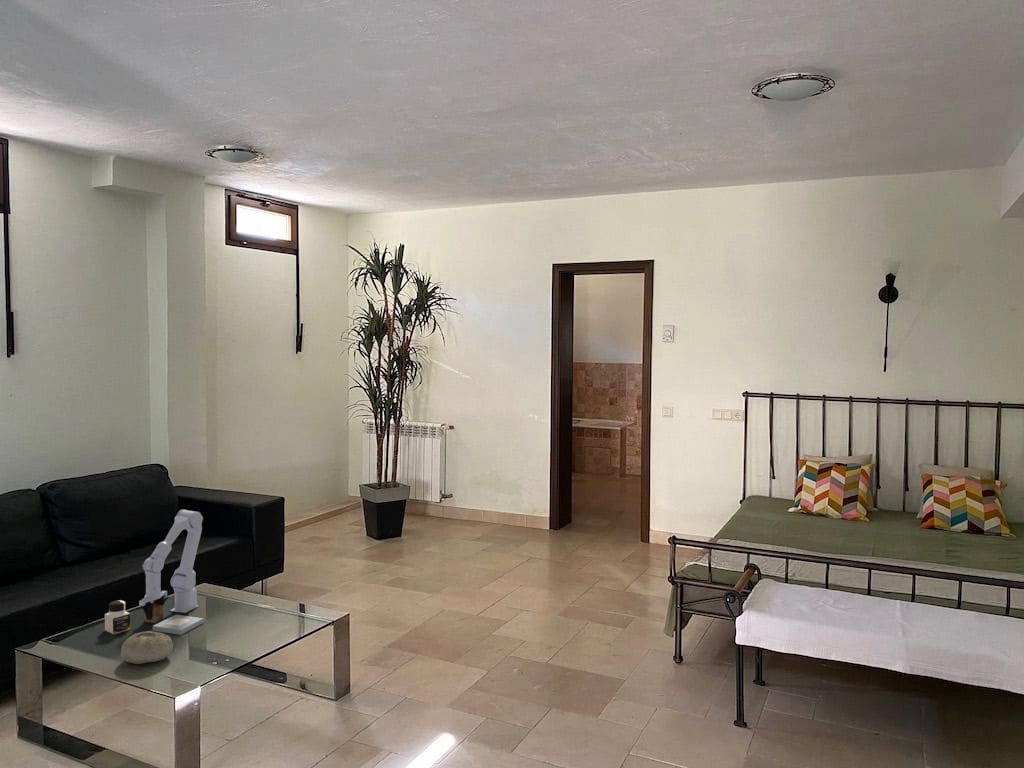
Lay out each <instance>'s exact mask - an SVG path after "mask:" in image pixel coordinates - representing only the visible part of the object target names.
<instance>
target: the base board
mask: <svg viewBox="0 0 1024 768" xmlns="http://www.w3.org/2000/svg"><path fill="white" fill-rule="evenodd" d="M204 623H205V622H204V618H203V617H197V616H188V615H181V614H175V615H172V616H170V617H168V618H166V619H163V620H162V621H159V622H158V623H156V624H154V625H152V632H154V631H155V632H158V633H164V634H165V633H167V634H174V635H180V636H182V635H184V634H186V633H187V632H189V631H191V630H193V629H195V628H196V627H199V626H202V624H204Z"/></svg>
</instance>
